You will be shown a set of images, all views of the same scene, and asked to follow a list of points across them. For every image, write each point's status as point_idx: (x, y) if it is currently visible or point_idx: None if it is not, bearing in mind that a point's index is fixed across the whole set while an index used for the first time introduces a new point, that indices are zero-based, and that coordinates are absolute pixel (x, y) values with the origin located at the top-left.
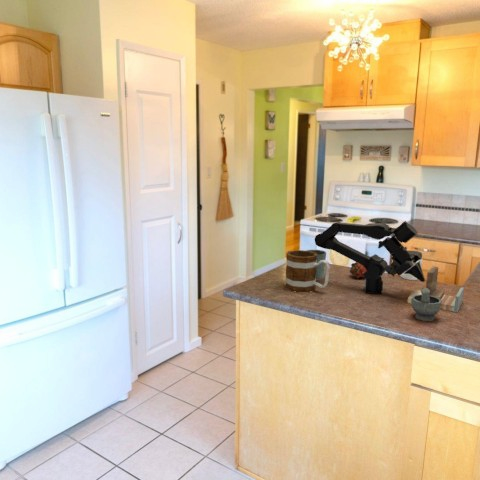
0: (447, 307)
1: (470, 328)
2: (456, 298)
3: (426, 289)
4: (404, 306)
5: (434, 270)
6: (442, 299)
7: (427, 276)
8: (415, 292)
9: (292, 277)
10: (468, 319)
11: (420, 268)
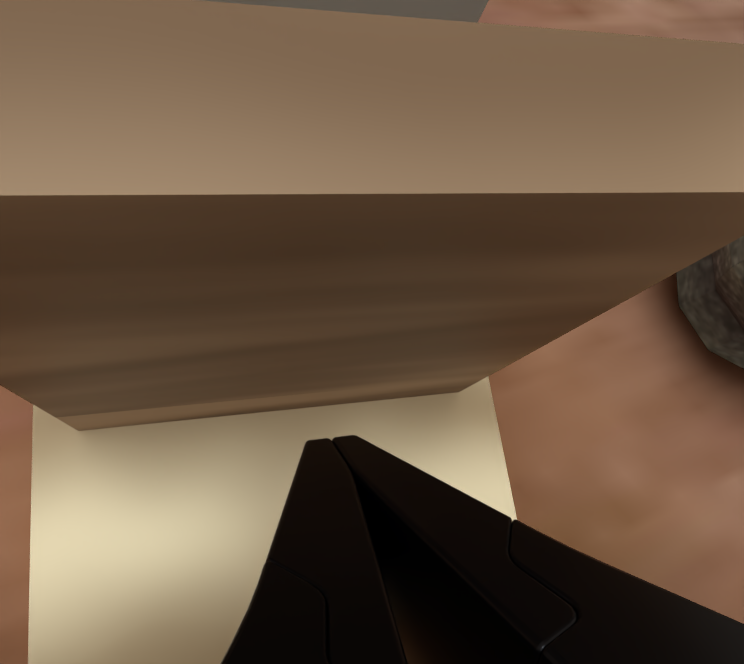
0: None
1: (665, 8)
2: (481, 4)
3: None
4: (637, 566)
5: (472, 44)
6: None
7: (705, 244)
8: (200, 636)
9: None
10: (512, 22)
11: (394, 639)
